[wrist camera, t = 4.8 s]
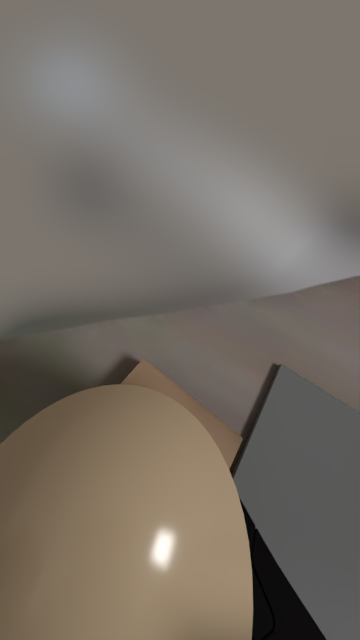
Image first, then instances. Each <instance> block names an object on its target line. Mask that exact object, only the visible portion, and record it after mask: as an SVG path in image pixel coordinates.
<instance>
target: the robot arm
mask: <svg viewBox="0 0 360 640" xmlns="http://www.w3.org/2000/svg"><path fill="white" fill-rule="evenodd" d="M238 496H239V495H238ZM239 499H240V497H239ZM240 503H241V506H242V510H243V513H244V519H245V524H246V529H247V534H248V540H249V547H250V557H251V566H252V581H253V625H252V640H327V639H326V638H325V636H324V635H323V633H322V632H321V630H320V629H319V627H318V626H317V624H316V623H315V621H314V620H313V618H312V616H311V615H310V613H309V612H308V610H307V609H306V607H305V606H304V604H303V603H302V601H301V600H300V598H299V597H298V595H297V593H296V592H295V590H294V589H293V587H292V586H291V584H290V583H289V581H288V579H287V578H286V576H285V575H284V573H283V572H282V570H281V568H280V567H279V565H278V564H277V562H276V560H275V559H274V557H273V555H272V553H271V552H270V550H269V548H268V547H267V545H266V543H265V541H264V540H263V538H262V536H261V534H260V533H259V531H258V529H257V528H256V526H255V524H254V522H253V520H252V518H251V517H250V515H249V513H248V511H247V510H246V508H245V506H244V504H243V503H242V501H241V499H240ZM255 528H256V529H255Z"/></svg>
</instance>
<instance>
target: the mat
mask: <svg viewBox="0 0 360 640" xmlns="http://www.w3.org/2000/svg"><path fill="white" fill-rule="evenodd" d="M232 478H233V481H234V483H235V486H236V489H237V492H238V495H239V497H240V499H241V501H242V503H243V504H244V506H245V508H246V510H247V511H248V513H249V515H250V517H251V518H252V520H253V522H254V524H255V526H256V528H257V529H258V531H259V533H260V534H261V536H262V538H263V540H264V541H265V543H266V545H267V547H268V548H269V550H270V552H271V553H272V555H273V557H274V559H275V560H276V562H277V564H278V565H279V567H280V568H281V570H282V572H283V573H284V575H285V576H286V578H287V579H288V581H289V583H290V584H291V586H292V587H293V589H294V590H295V592H296V593H297V595H298V597H299V598H300V600H301V601H302V603H303V604H304V606H305V607H306V609H307V610H308V612H309V613H310V615H311V616H312V618H313V620H314V621H315V623H316V624H317V626H318V627H319V629H320V630H321V632H322V633H323V635H324V636H325V638H326V639H327V640H360V413H358V412H357V411H355V410H354V409H352V408H350V407H349V406H347V405H346V404H344V403H342V402H341V401H339V400H338V399H336V398H335V397H333V396H331V395H330V394H328V393H327V392H325V391H324V390H322V389H320V388H319V387H317V386H316V385H314V384H313V383H311V382H309V381H308V380H306V379H305V378H303V377H302V376H300V375H298V374H297V373H295V372H294V371H292V370H290V369H289V368H287V367H286V366H284V365H283V364H280V365H279V366H278V368H277V371H276V373H275V375H274V378H273V380H272V383H271V385H270V387H269V390H268V392H267V394H266V397H265V399H264V401H263V404H262V406H261V408H260V411H259V413H258V415H257V418H256V420H255V422H254V425H253V427H252V429H251V432H250V434H249V436H248V439H247V441H246V443H245V446H244V448H243V450H242V453H241V455H240V457H239V460H238V462H237V464H236V467H235V469H234V472H233V474H232ZM256 528H255V529H256Z"/></svg>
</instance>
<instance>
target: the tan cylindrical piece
mask: <svg viewBox="0 0 360 640" xmlns="http://www.w3.org/2000/svg"><path fill="white" fill-rule="evenodd" d="M252 625H253V581H252V566H251V557H250V547H249V540H248V534H247V529H246V524H245V519H244V513H243V510H242V506H241V503H240V499H239V496H238V492H237V489H236V486H235V483H234V481H233V478H232V476H231V473H230V470H229V468H228V466H227V464H226V462H225V460H224V458H223V456H222V454H221V452H220V450H219V448H218V446H217V445H216V443H215V442H214V440H213V439H212V437H211V436H210V434H209V433H208V431H207V430H206V429H205V428H204V426H203V425H202V424H201V423H200V422H199V420H198V419H197V418H196V417H195V416H194V415H192V414H191V413H190V412H189V411H188V410H187V409H186V408H185V407H183V406H182V405H181V404H179V403H178V402H177V401H175V400H174V399H172V398H170V397H168V396H166V395H164V394H162V393H160V392H157V391H155V390H152V389H149V388H145V387H141V386H136V385H124V384H116V385H104V386H99V387H94V388H89V389H86V390H83V391H80V392H77V393H74V394H72V395H70V396H68V397H65V398H63V399H61V400H59V401H57V402H55V403H53V404H52V405H50V406H48V407H47V408H45V409H43V410H41V411H40V412H39V413H37V414H36V415H34V416H33V417H32V418H30V419H29V420H27V421H26V422H25V423H23V424H22V425H21V426H20V427H19V428H18V429H16V430H15V431H14V432H13V433H12V434H10V435H9V436H8V437H7V438H6V439H5V440H4V441H3V442H2V443H1V444H0V640H252Z"/></svg>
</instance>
